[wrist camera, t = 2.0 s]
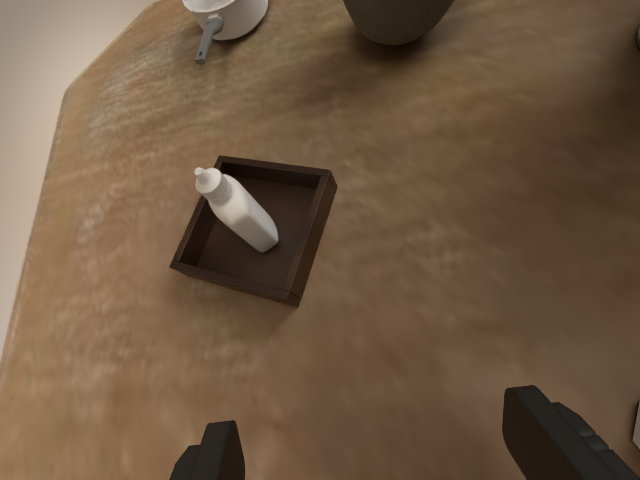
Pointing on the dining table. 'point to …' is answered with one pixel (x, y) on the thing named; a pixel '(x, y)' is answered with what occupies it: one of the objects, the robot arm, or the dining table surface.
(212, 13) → the saucepan
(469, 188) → the dining table surface
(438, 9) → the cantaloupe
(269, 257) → the tray
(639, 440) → the flask
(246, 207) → the eye dropper bottle
